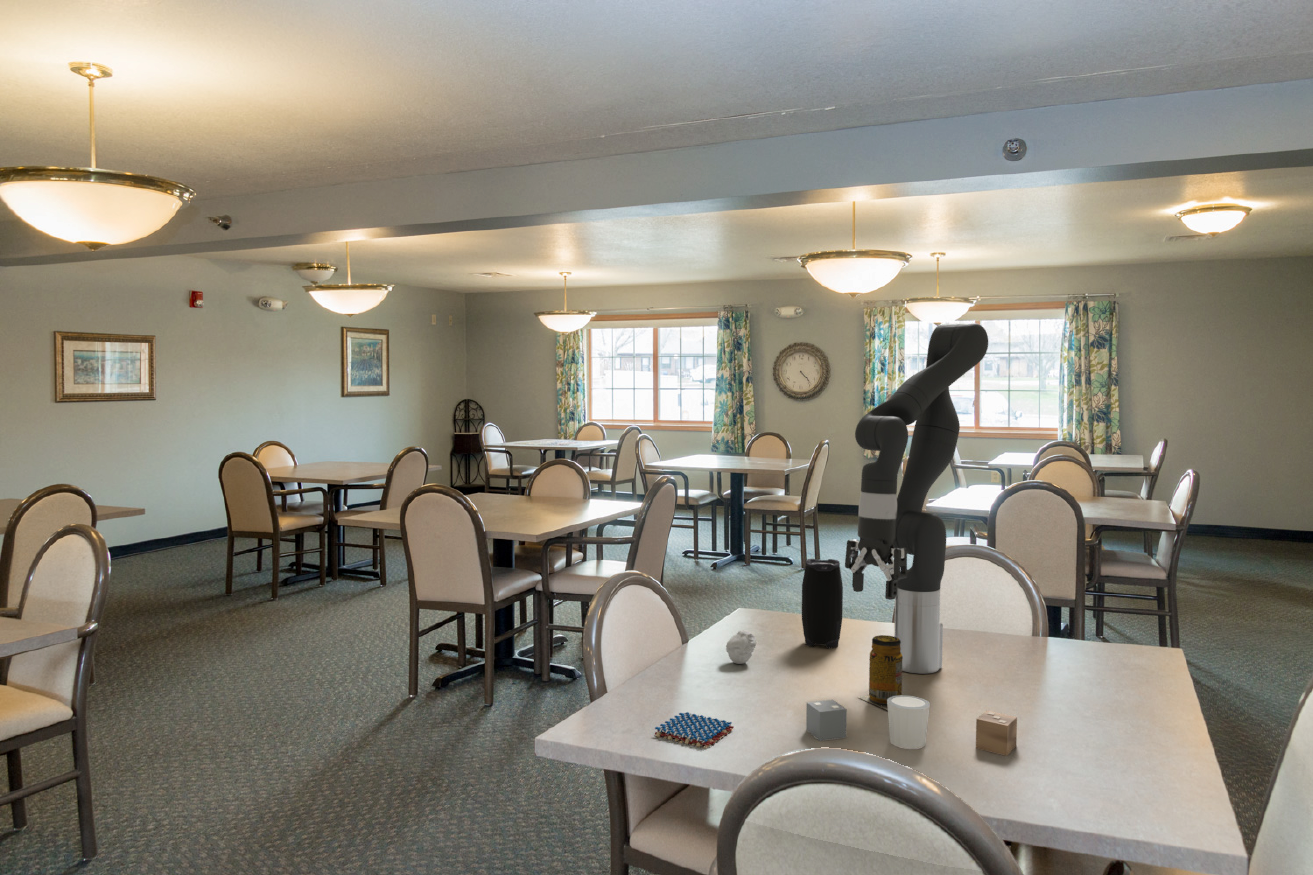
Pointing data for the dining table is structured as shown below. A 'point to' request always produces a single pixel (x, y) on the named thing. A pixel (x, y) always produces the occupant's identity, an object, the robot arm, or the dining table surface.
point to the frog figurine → (741, 647)
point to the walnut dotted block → (996, 732)
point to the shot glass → (908, 721)
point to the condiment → (884, 670)
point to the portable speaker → (822, 602)
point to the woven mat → (694, 729)
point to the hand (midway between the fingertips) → (873, 595)
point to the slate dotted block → (826, 720)
